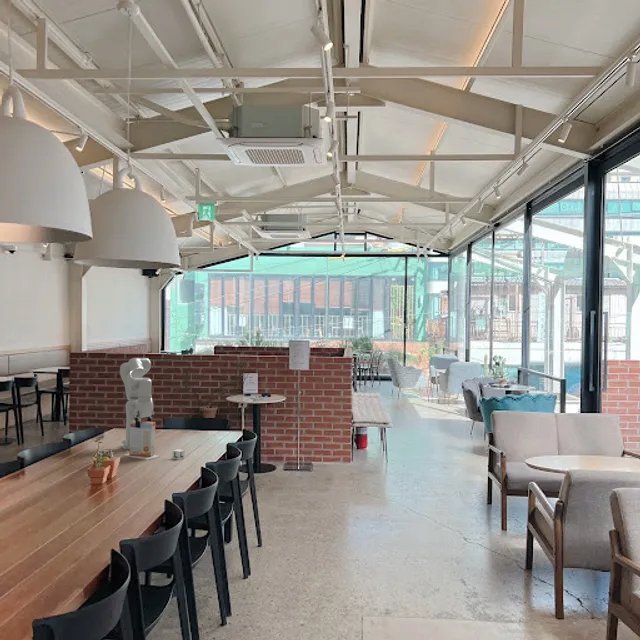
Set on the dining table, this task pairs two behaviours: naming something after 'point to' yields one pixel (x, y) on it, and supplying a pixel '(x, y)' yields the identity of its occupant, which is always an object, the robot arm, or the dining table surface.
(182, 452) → the off-white cubic block
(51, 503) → the dining table surface
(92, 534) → the dining table surface
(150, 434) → the cracker box
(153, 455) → the white mat
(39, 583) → the dining table surface
